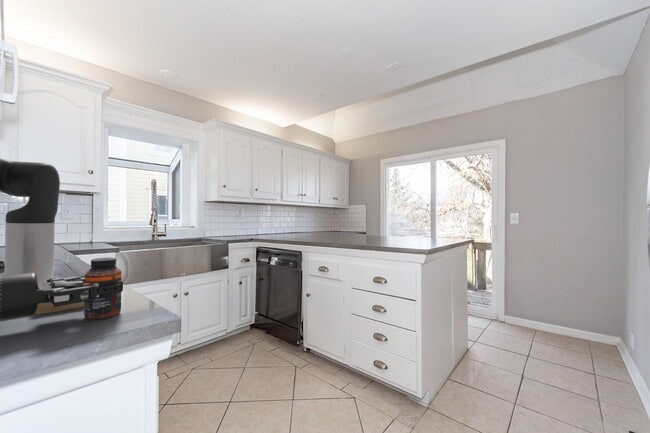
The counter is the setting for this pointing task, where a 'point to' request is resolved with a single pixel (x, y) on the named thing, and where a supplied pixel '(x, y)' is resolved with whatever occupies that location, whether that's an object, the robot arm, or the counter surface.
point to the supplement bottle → (107, 303)
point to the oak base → (49, 307)
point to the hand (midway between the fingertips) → (118, 283)
